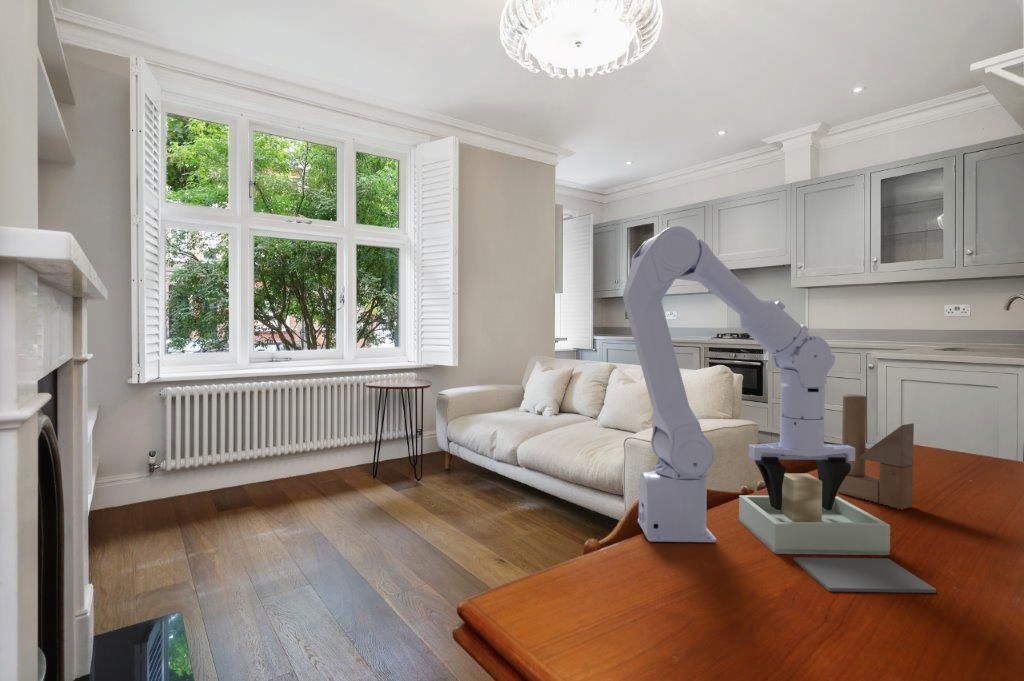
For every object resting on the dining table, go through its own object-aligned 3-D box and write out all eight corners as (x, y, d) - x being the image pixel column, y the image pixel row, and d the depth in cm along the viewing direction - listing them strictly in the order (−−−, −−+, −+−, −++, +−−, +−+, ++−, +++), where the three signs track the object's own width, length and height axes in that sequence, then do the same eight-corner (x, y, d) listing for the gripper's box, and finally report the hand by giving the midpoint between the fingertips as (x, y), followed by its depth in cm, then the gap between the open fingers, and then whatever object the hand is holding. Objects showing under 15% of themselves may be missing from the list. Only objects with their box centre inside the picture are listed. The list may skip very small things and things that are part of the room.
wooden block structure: (901, 510, 87) (903, 401, 86) (835, 492, 96) (837, 394, 96) (913, 507, 89) (915, 400, 88) (847, 489, 98) (849, 393, 98)
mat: (828, 591, 60) (828, 587, 60) (793, 560, 68) (793, 557, 68) (936, 592, 60) (936, 589, 60) (888, 561, 68) (888, 558, 68)
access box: (774, 553, 70) (775, 523, 70) (738, 520, 82) (739, 495, 82) (889, 555, 70) (890, 525, 70) (836, 521, 82) (837, 496, 82)
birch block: (793, 522, 76) (794, 480, 76) (780, 512, 80) (780, 473, 80) (821, 522, 76) (822, 481, 76) (807, 512, 80) (807, 473, 80)
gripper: (836, 412, 82) (834, 499, 82) (741, 412, 82) (740, 498, 83) (865, 420, 75) (863, 515, 75) (761, 420, 75) (760, 514, 76)
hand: (800, 507), depth 78 cm, fingers open, 7 cm apart
